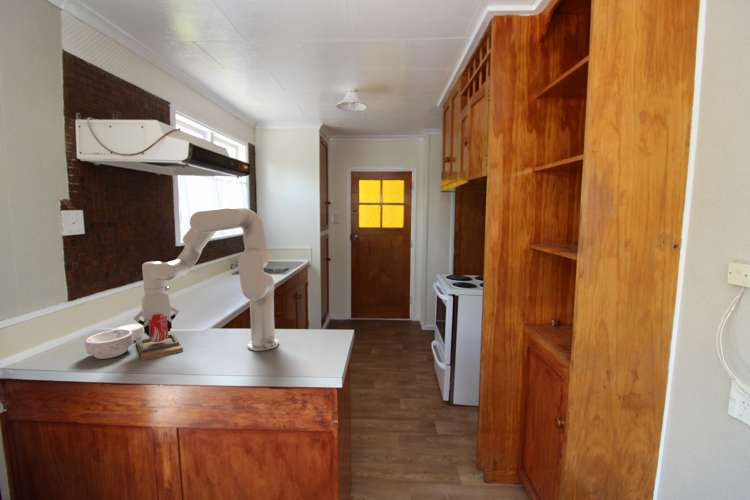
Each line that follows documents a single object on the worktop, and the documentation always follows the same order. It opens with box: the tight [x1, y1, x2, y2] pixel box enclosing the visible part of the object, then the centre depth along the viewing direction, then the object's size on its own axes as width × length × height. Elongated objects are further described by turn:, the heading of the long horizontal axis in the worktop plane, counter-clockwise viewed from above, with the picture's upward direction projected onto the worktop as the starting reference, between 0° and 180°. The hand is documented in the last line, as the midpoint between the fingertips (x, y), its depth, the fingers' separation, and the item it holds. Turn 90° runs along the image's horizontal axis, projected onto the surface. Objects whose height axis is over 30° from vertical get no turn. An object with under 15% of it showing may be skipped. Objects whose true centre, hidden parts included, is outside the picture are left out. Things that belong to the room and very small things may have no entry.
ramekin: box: [113, 323, 144, 342], centre depth 156 cm, size 11×11×5 cm
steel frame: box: [138, 333, 180, 353], centre depth 146 cm, size 13×13×1 cm
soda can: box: [148, 313, 169, 342], centre depth 146 cm, size 7×7×12 cm
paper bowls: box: [84, 329, 134, 360], centre depth 139 cm, size 15×15×8 cm
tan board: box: [135, 332, 184, 361], centre depth 147 cm, size 22×14×2 cm, turn 39°
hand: (158, 332), depth 146 cm, fingers closed on soda can, 7 cm apart
